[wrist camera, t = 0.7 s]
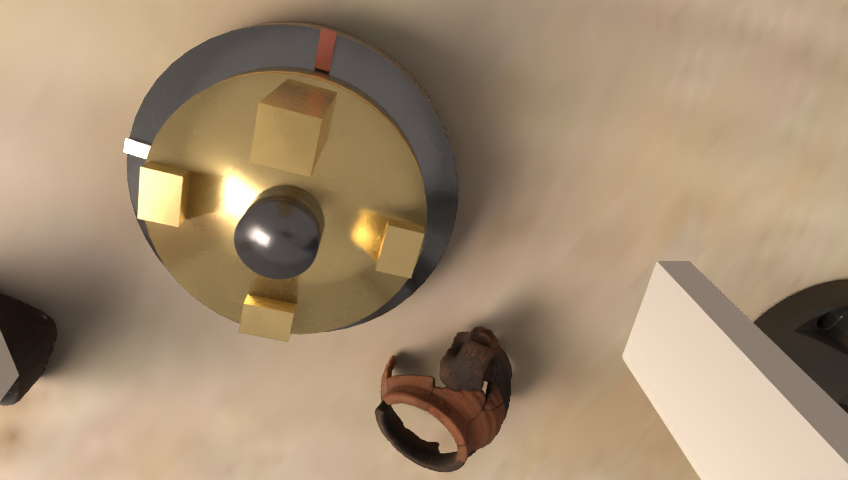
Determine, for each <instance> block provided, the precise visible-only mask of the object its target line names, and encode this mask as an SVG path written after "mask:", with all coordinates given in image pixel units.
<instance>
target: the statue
mask: <svg viewBox="0 0 848 480" xmlns="http://www.w3.org/2000/svg"><path fill="white" fill-rule="evenodd" d="M56 330H57V329H56V325H55V323H54V322H53V320H52V319H51V318H49V317H47V316H46V315H44V314H43V313H41V312H40V311H38V310H36V309H34V308H32V307H30V306H28V305H26V304H24V303H22V302H20V301H18V300H15V299H12V298H10V297H8V296H6V295H3V294H0V331H1V333H2V335H3V338H4V340H5V343H6V345H7V347H8V350H9V352H10V355H11V357H12V359H13V362H14V364H15V367H16V369H17V371H18V374H19V376H18V378H17V379H16V381H15V382H14V383H13V385H12V386H11V387H10V389H9V390H8V392H7V393H6V394H5V396H4V397H3V398H2V400H1V401H0V405H3V406H8V405H13V404H15V403H17V402H18V401H20V399H21V398H22V397H23V396H24V395H25V394H26V393H27V392H28V391H29V389H30V388H31V387H32V386H33V384H34V383H35V382H36V381H37V380H38V379H39V377H40V376H41V374H42V373H43V371H44V370H45V365H46V364H47V363H48V362H47V361H48V358H49V356H50V354H51V352H52V350H53V346H54V345H53V344H54V342H55V341H56V337H57V333H56Z"/></svg>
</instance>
